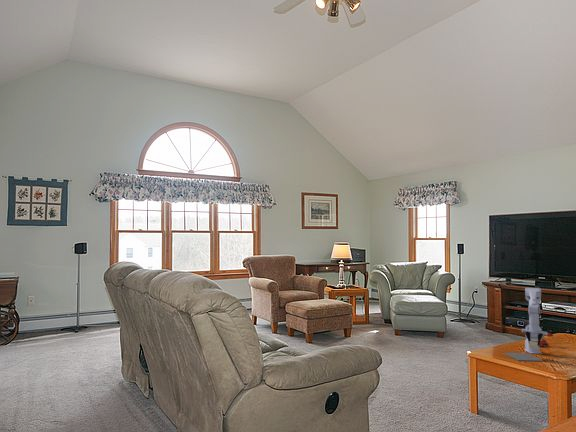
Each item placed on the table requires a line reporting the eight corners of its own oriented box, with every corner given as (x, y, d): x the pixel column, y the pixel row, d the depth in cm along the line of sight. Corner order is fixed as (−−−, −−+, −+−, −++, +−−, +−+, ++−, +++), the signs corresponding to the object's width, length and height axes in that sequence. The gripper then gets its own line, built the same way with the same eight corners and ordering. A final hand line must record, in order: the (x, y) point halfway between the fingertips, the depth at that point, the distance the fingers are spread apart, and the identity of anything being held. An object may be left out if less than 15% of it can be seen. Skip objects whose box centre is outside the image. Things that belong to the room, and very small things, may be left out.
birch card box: (531, 345, 299) (531, 339, 299) (538, 346, 296) (538, 340, 296) (529, 347, 292) (529, 341, 293) (537, 348, 290) (537, 342, 290)
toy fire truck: (533, 345, 329) (533, 332, 330) (549, 345, 332) (549, 332, 332) (536, 346, 326) (536, 333, 327) (553, 346, 329) (553, 333, 329)
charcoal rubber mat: (504, 353, 303) (504, 352, 303) (527, 354, 303) (527, 353, 303) (517, 360, 285) (517, 359, 285) (543, 361, 285) (543, 360, 285)
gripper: (520, 323, 296) (520, 344, 296) (546, 326, 288) (546, 347, 287) (522, 321, 302) (522, 342, 301) (547, 324, 293) (547, 345, 293)
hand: (534, 344), depth 294 cm, fingers closed on birch card box, 4 cm apart
